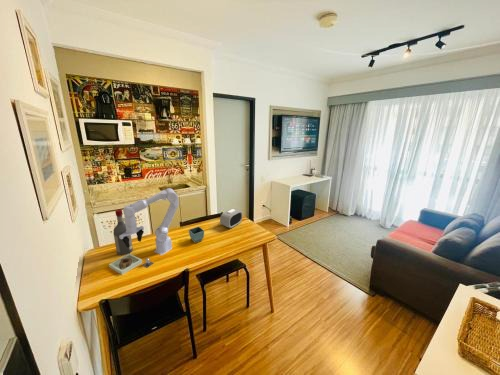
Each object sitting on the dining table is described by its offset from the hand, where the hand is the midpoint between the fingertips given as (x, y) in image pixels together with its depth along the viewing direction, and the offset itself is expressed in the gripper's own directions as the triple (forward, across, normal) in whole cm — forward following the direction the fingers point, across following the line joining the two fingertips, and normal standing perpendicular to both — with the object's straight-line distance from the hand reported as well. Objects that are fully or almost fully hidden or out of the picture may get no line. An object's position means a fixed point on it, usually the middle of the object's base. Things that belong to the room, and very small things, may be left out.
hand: (133, 244), depth 129 cm
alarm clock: (+11, -72, +27) cm, 78 cm away
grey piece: (+10, 0, +12) cm, 16 cm away
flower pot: (+11, -36, +19) cm, 42 cm away
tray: (+10, +8, +2) cm, 13 cm away
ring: (+10, +8, +2) cm, 13 cm away
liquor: (+11, -1, -13) cm, 17 cm away
